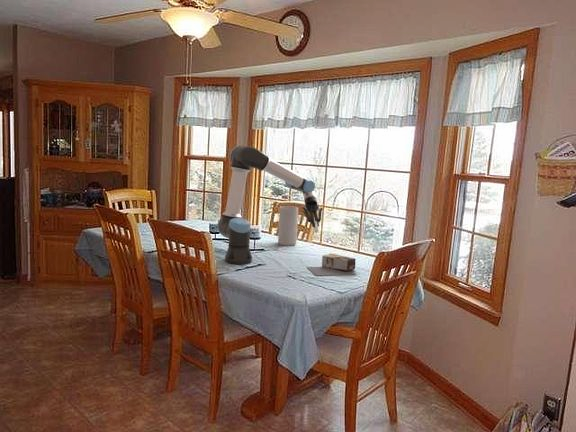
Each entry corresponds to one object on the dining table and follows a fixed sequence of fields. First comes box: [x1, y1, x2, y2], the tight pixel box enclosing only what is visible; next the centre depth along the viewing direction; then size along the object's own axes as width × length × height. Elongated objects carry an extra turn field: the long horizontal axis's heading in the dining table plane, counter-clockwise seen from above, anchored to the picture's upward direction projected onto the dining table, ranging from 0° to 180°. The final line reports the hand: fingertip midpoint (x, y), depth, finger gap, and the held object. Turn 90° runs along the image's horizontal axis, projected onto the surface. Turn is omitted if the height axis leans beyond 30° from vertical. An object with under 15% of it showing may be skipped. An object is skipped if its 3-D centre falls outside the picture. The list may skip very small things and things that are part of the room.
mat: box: [306, 266, 356, 277], centre depth 239 cm, size 22×16×1 cm
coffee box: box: [321, 253, 356, 272], centre depth 244 cm, size 9×6×16 cm
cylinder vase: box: [277, 205, 299, 247], centre depth 299 cm, size 12×12×25 cm
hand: (316, 231), depth 262 cm, fingers closed
